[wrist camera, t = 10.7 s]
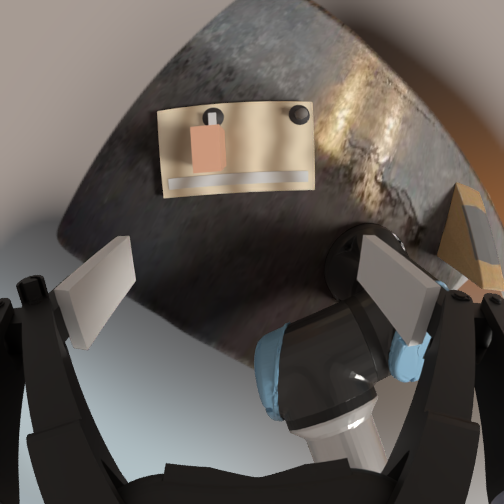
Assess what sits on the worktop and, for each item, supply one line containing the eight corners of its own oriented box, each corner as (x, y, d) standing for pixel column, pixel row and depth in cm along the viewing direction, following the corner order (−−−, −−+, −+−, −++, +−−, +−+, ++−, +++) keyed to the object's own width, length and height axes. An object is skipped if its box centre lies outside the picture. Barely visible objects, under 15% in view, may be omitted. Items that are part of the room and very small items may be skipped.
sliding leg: (223, 113, 35) (217, 101, 26) (226, 165, 38) (221, 171, 29) (202, 115, 35) (189, 104, 26) (205, 167, 38) (193, 173, 29)
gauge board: (309, 103, 37) (316, 99, 33) (311, 187, 42) (319, 192, 38) (160, 112, 37) (152, 109, 33) (167, 196, 42) (159, 201, 37)
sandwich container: (480, 191, 43) (531, 210, 29) (461, 260, 48) (505, 292, 34) (455, 180, 42) (510, 197, 28) (435, 255, 47) (482, 289, 33)
